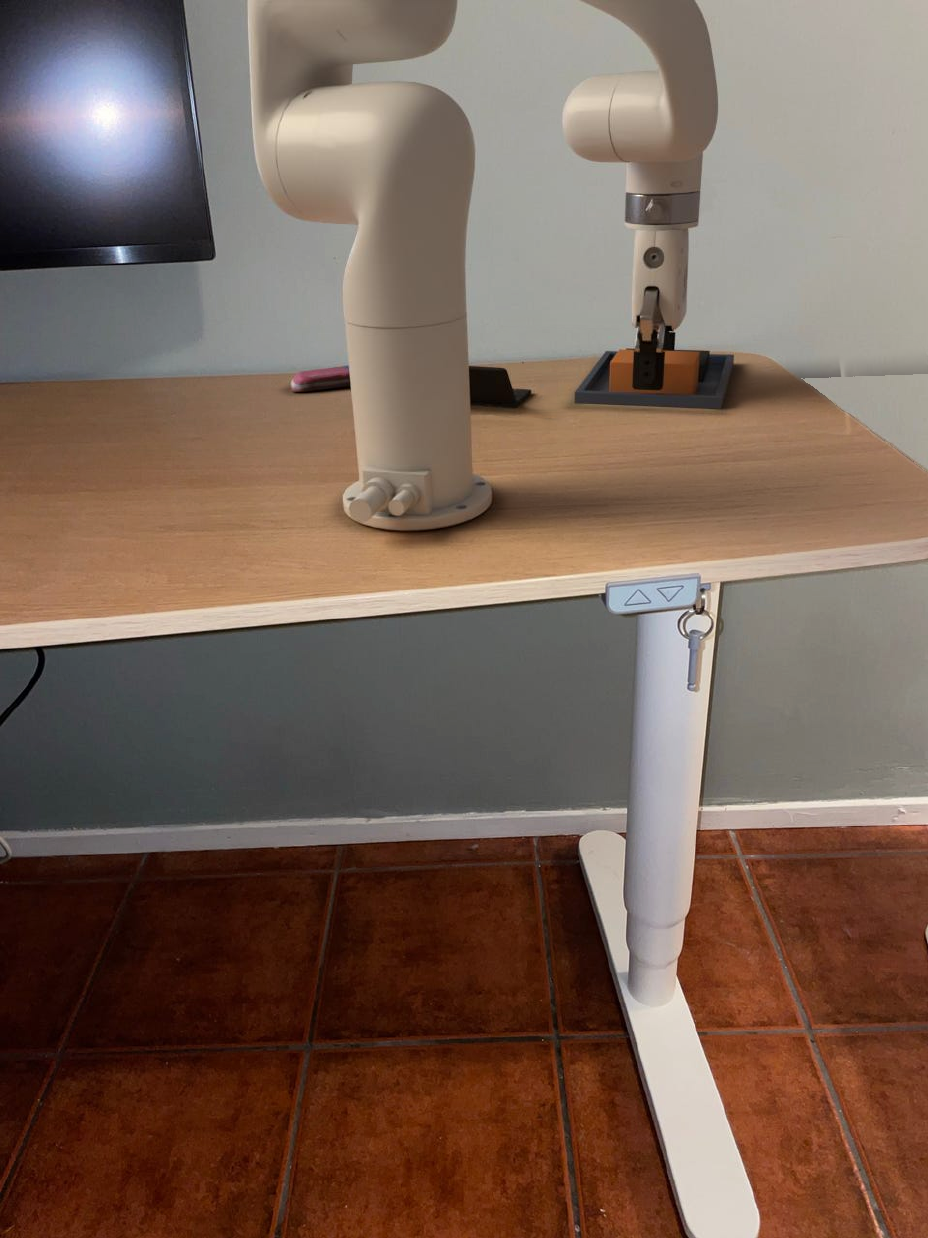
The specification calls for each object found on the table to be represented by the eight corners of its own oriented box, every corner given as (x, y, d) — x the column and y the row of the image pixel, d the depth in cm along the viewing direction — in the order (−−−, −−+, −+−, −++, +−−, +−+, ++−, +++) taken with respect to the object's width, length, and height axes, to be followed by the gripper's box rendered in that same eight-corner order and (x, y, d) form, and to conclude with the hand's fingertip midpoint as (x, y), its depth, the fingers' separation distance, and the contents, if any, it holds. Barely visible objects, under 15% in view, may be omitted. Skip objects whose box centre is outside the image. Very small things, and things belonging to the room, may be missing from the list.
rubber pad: (703, 381, 114) (704, 364, 114) (616, 378, 117) (616, 361, 116) (708, 367, 120) (709, 350, 119) (625, 364, 123) (626, 348, 122)
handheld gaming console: (533, 377, 114) (513, 318, 106) (531, 429, 111) (510, 373, 103) (437, 390, 117) (410, 333, 109) (432, 441, 114) (404, 387, 106)
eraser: (293, 394, 119) (291, 379, 118) (289, 386, 122) (287, 371, 121) (386, 382, 121) (384, 367, 120) (379, 374, 124) (378, 360, 124)
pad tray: (720, 413, 105) (722, 397, 104) (574, 407, 109) (574, 391, 108) (733, 368, 121) (734, 354, 121) (605, 364, 126) (605, 350, 125)
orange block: (692, 401, 108) (694, 364, 106) (609, 398, 110) (610, 361, 108) (697, 387, 113) (700, 351, 111) (617, 384, 115) (619, 349, 113)
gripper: (690, 220, 94) (679, 400, 102) (706, 202, 109) (695, 360, 117) (611, 221, 96) (606, 397, 104) (637, 203, 111) (631, 358, 119)
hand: (653, 377), depth 110 cm, fingers open, 9 cm apart
